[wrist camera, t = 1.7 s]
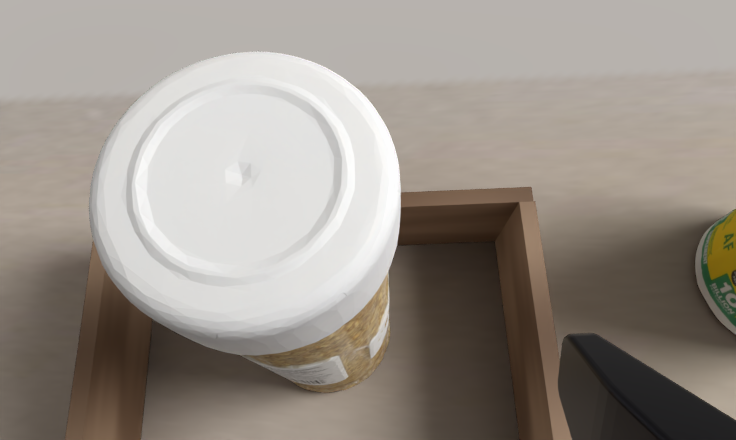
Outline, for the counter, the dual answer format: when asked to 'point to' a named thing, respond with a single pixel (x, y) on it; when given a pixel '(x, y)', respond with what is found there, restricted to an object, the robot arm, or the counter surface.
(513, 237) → the wooden tray
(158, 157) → the sprinkles bottle
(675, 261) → the counter surface
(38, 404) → the counter surface
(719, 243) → the supplement bottle
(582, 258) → the counter surface
